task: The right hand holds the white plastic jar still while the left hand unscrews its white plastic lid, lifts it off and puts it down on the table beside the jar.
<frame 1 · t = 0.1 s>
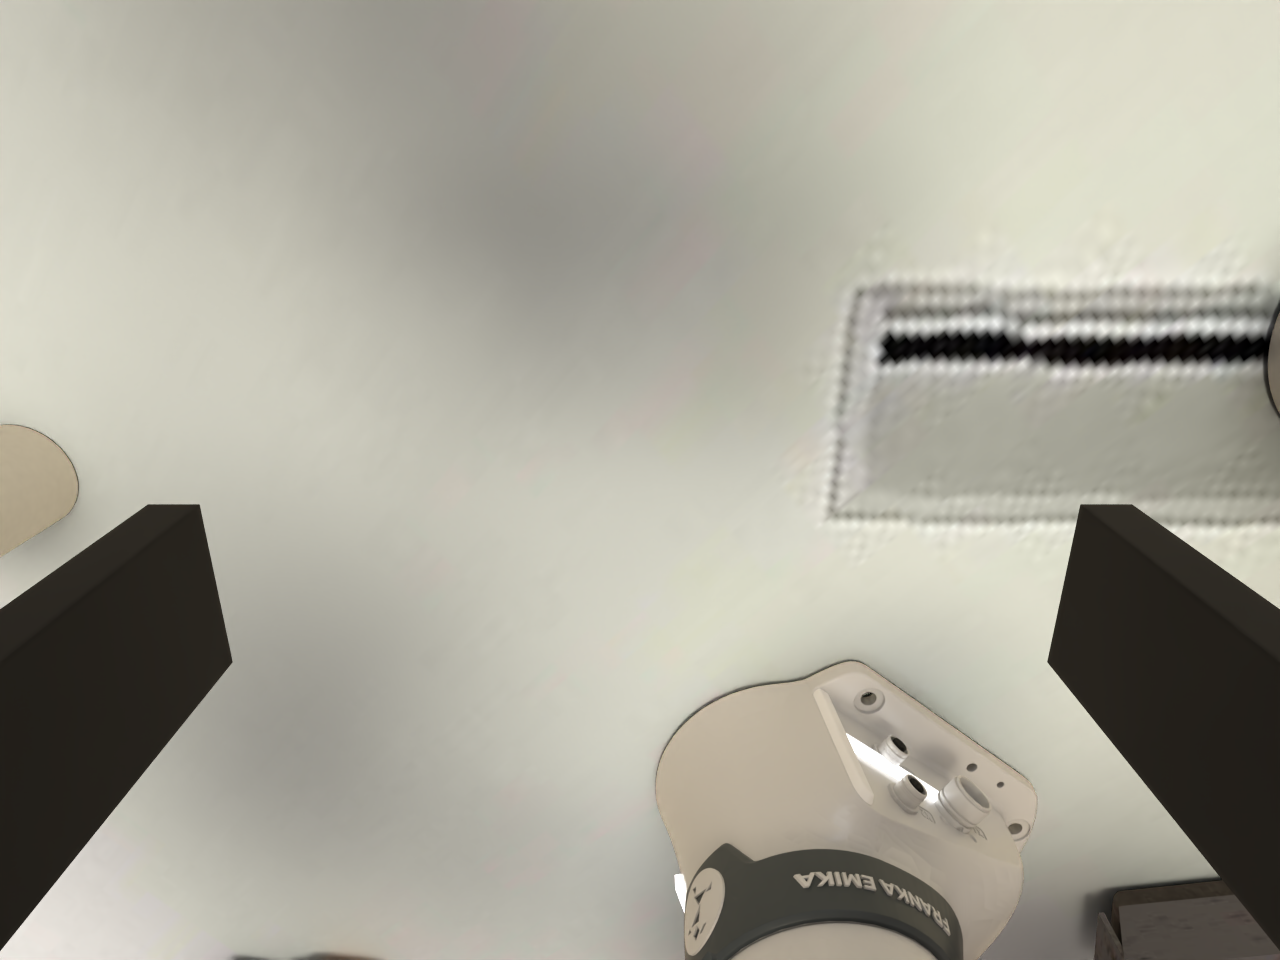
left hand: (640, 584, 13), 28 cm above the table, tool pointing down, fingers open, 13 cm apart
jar: (23, 475, 42), on the table
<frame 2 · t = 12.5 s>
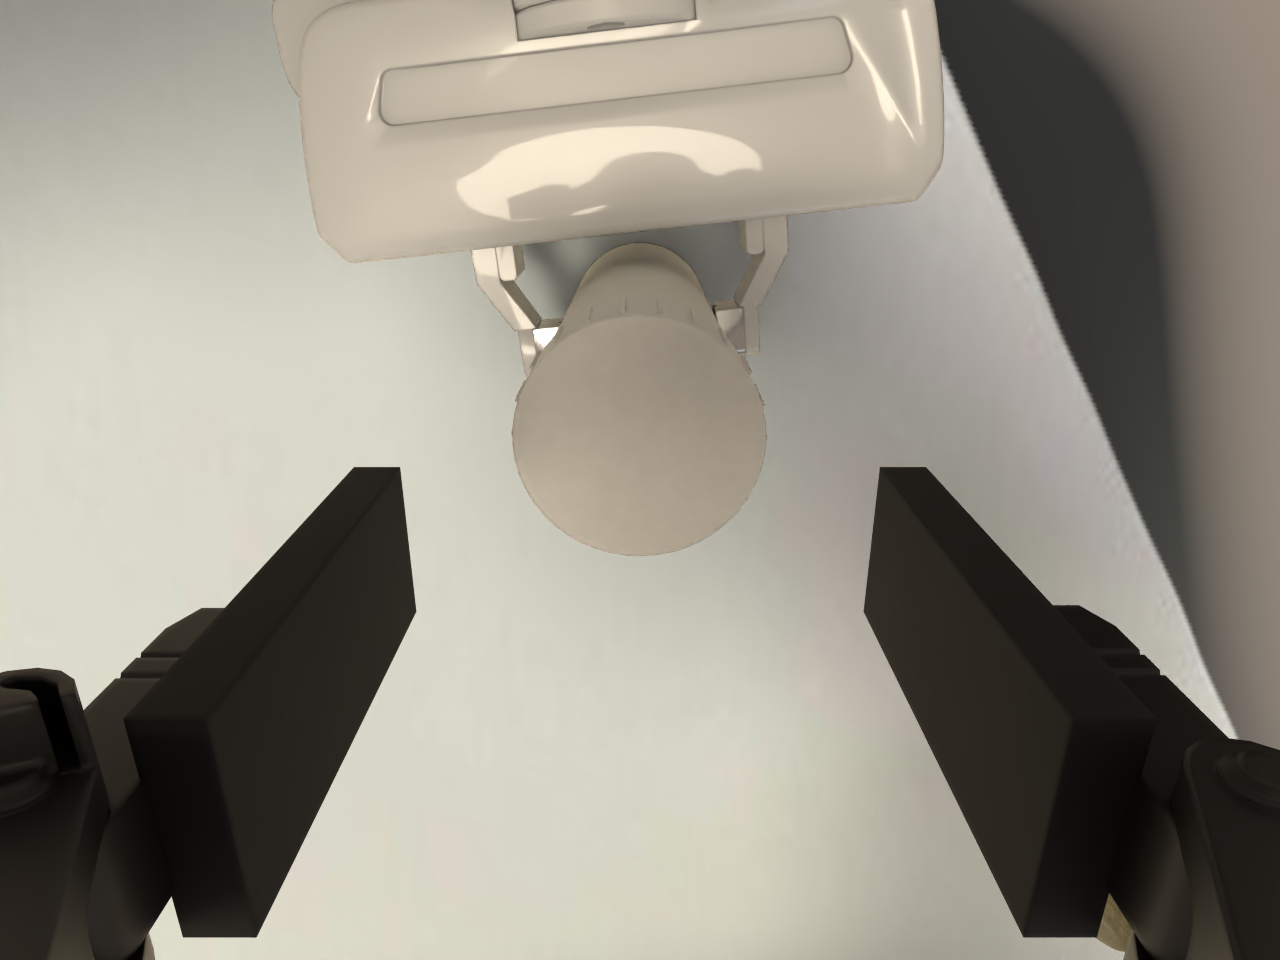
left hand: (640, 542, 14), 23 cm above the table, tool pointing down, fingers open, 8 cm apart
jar: (640, 309, 35), on the table, touching right hand
lid: (639, 437, 19), point 17 cm above the table, screwed on, not yet turned
sculpture: (1030, 746, 43), on the table
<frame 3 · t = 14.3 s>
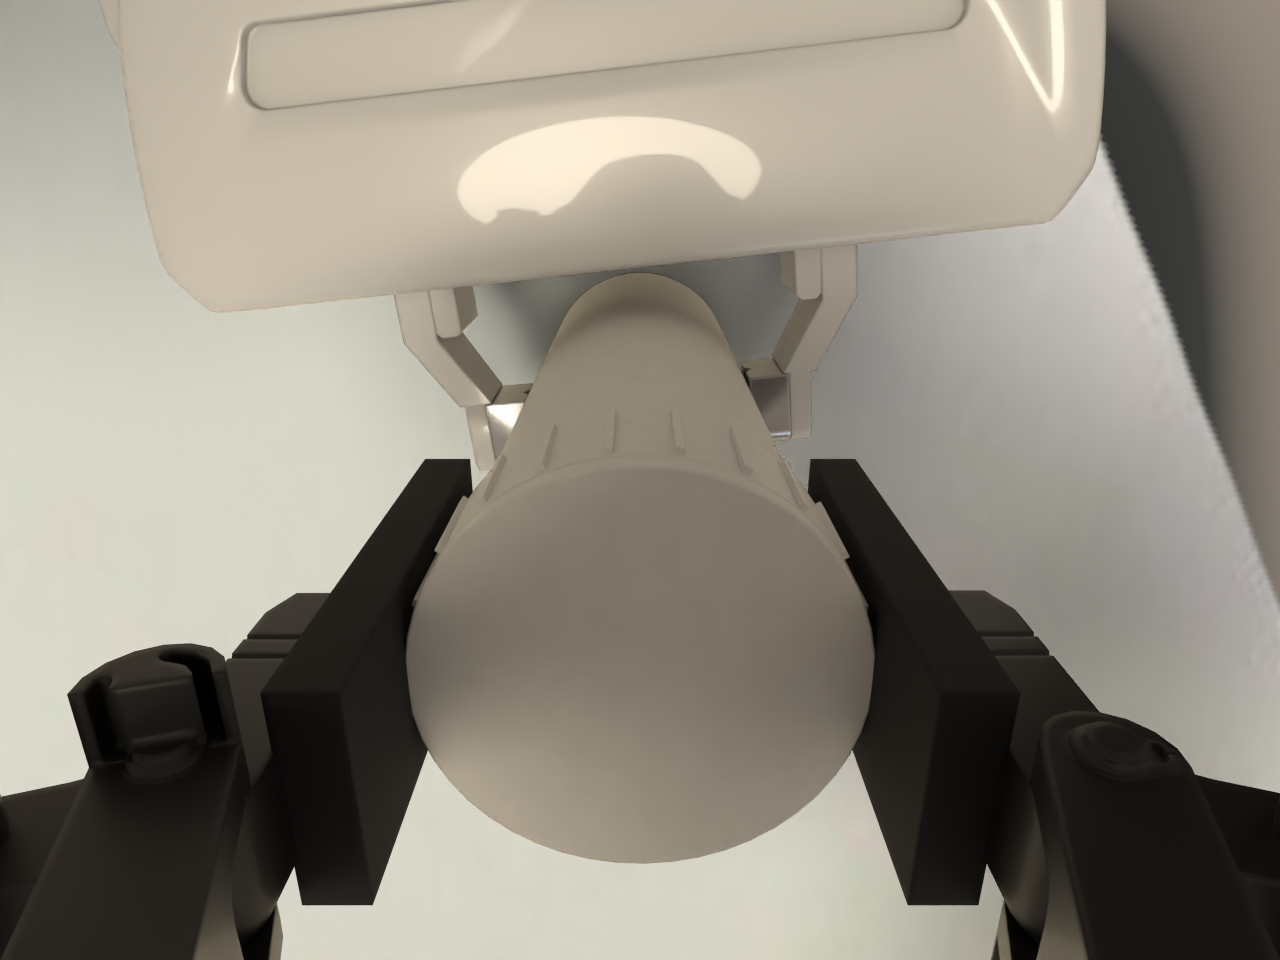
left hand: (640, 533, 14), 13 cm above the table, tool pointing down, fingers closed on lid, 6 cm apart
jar: (640, 359, 26), on the table, touching right hand
lid: (640, 669, 11), point 17 cm above the table, screwed on, not yet turned, touching left hand
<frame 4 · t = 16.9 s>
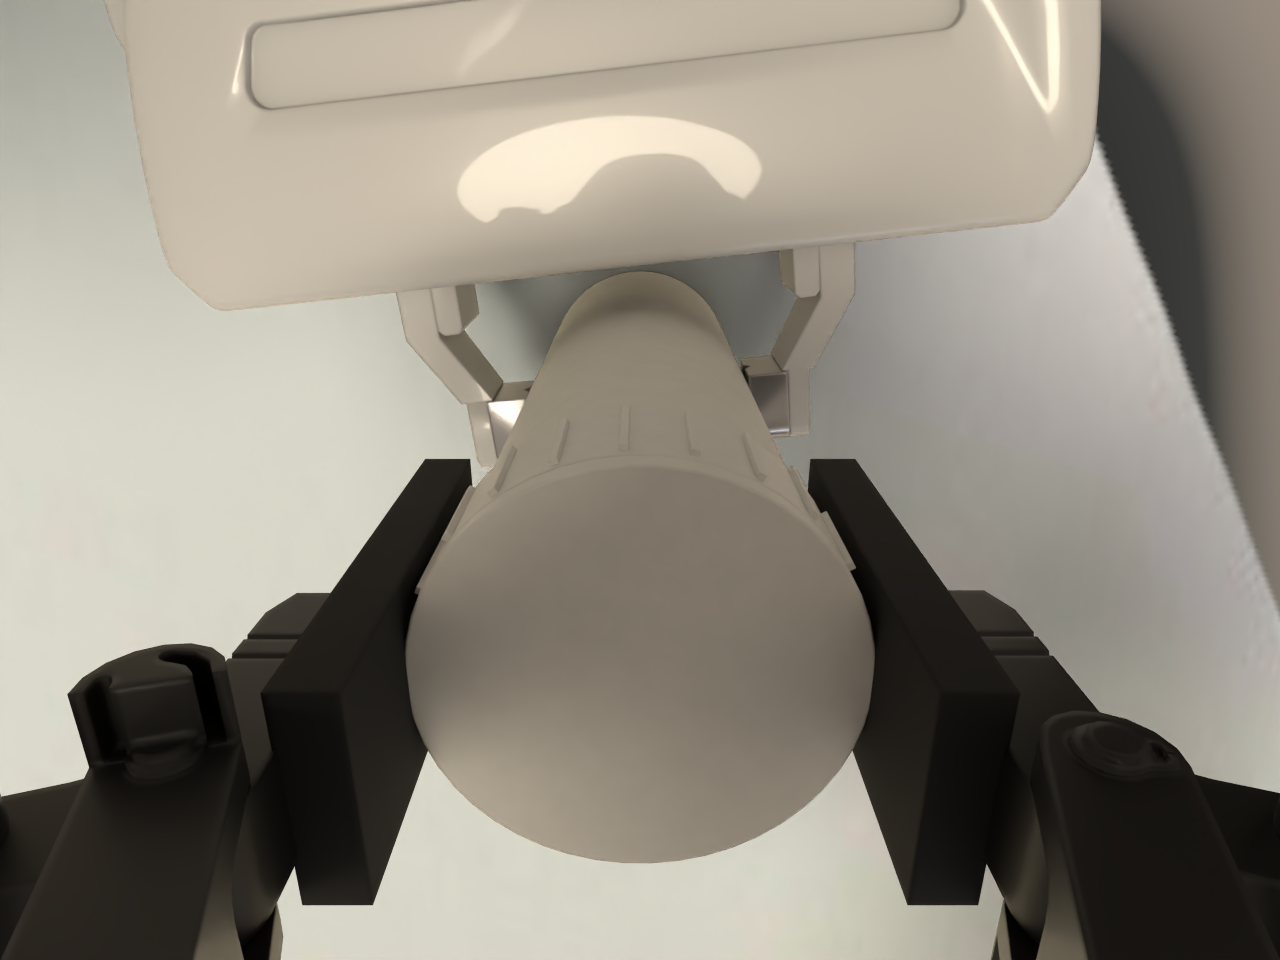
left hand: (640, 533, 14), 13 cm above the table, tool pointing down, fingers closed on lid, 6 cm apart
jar: (640, 357, 27), on the table, touching right hand
lid: (640, 669, 11), point 17 cm above the table, turned 62° so far, risen 0.2 cm, still on its thread, touching left hand
when the left hand's fingers open (0 cm above the table, at t = 24.0 s): lid drops 3 cm, point 2 cm above the table.
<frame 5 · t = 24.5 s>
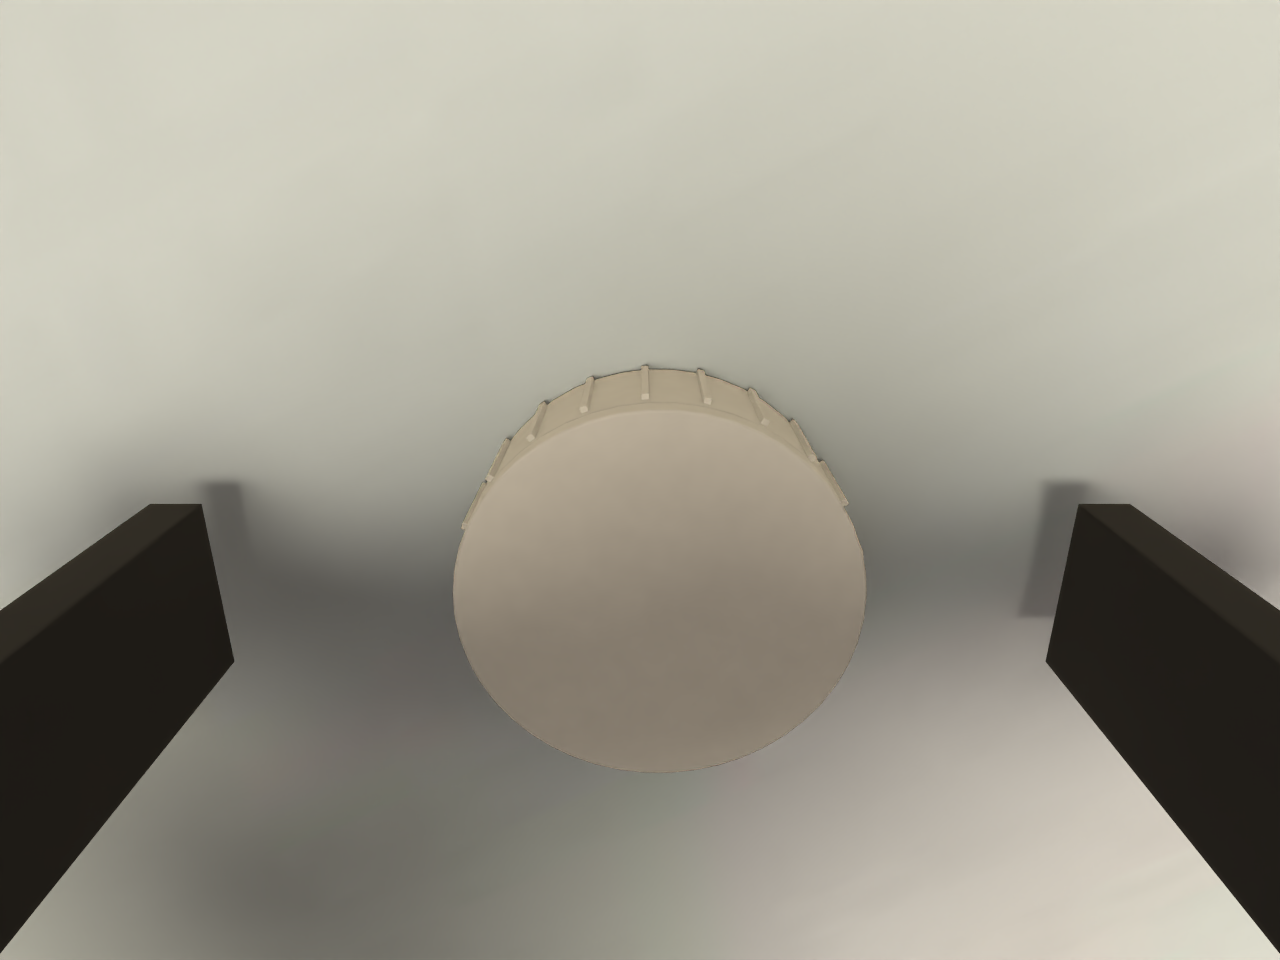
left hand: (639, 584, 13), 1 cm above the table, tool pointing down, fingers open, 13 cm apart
lid: (658, 596, 12), point 2 cm above the table, off its thread
when the right hand's fingers open (6 cm above the table, at t = 25.2 s): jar stays where it is, on the table.
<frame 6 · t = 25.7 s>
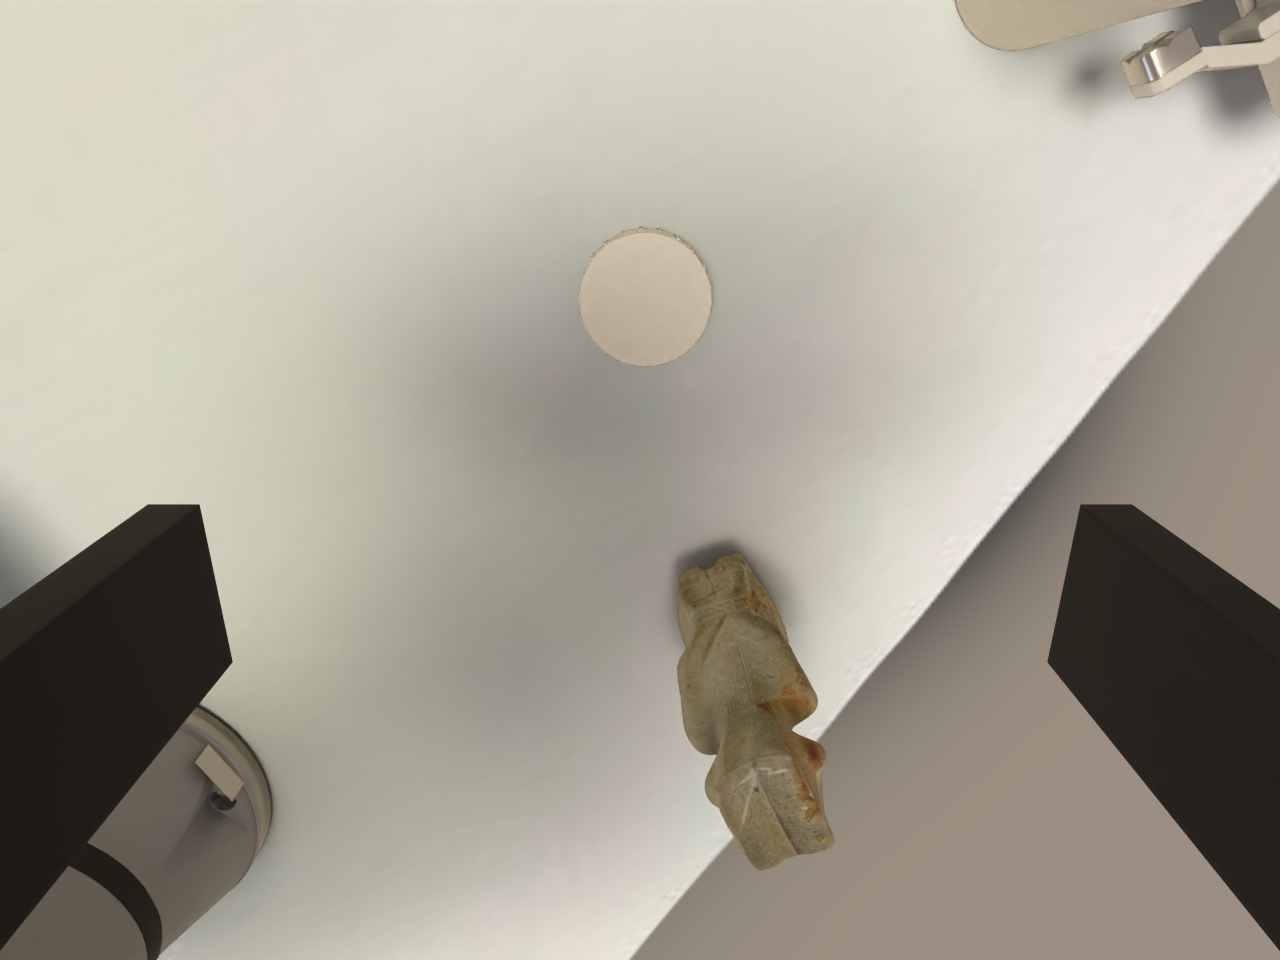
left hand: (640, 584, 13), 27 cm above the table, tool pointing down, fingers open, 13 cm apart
lid: (645, 300, 36), point 2 cm above the table, off its thread
sculpture: (727, 599, 44), on the table
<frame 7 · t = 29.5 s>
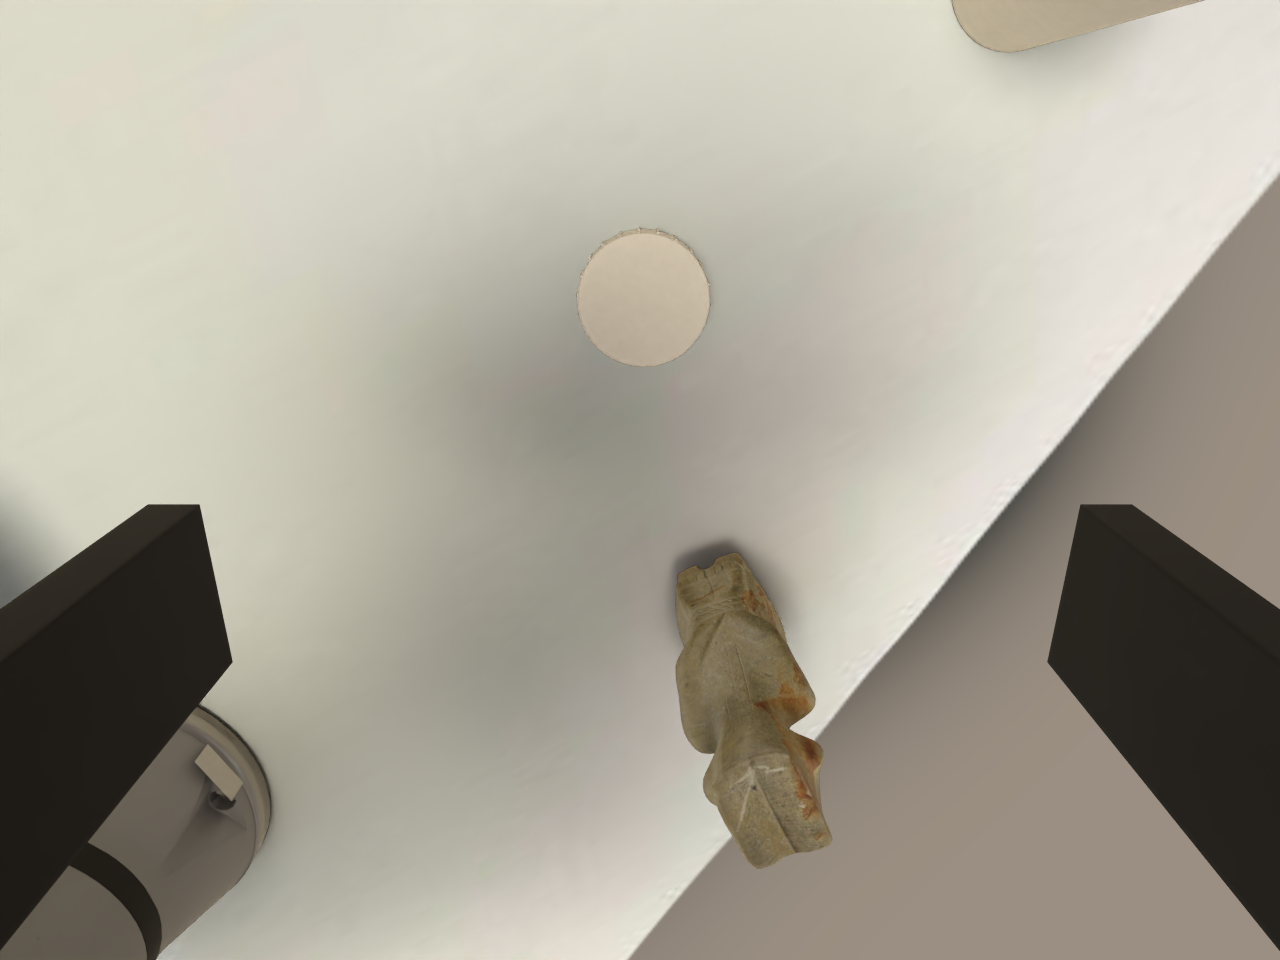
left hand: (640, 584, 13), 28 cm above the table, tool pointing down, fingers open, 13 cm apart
lid: (643, 300, 37), point 2 cm above the table, off its thread
sculpture: (725, 599, 44), on the table
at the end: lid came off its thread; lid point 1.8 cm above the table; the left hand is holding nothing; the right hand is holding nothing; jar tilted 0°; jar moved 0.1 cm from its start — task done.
